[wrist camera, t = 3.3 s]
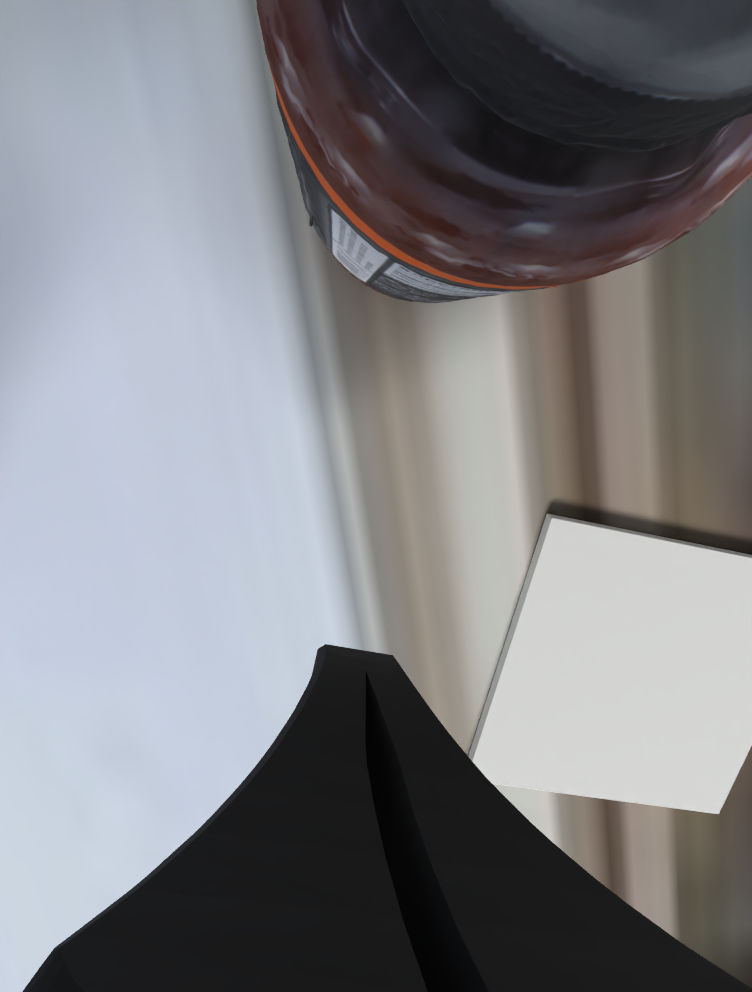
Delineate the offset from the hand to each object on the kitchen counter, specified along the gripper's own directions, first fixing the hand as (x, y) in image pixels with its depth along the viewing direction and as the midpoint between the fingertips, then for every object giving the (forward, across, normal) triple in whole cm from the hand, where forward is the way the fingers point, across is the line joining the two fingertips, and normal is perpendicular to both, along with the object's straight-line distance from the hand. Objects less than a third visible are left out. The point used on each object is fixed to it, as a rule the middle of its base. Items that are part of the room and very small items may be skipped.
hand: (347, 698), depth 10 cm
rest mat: (+6, -10, +2) cm, 12 cm away
